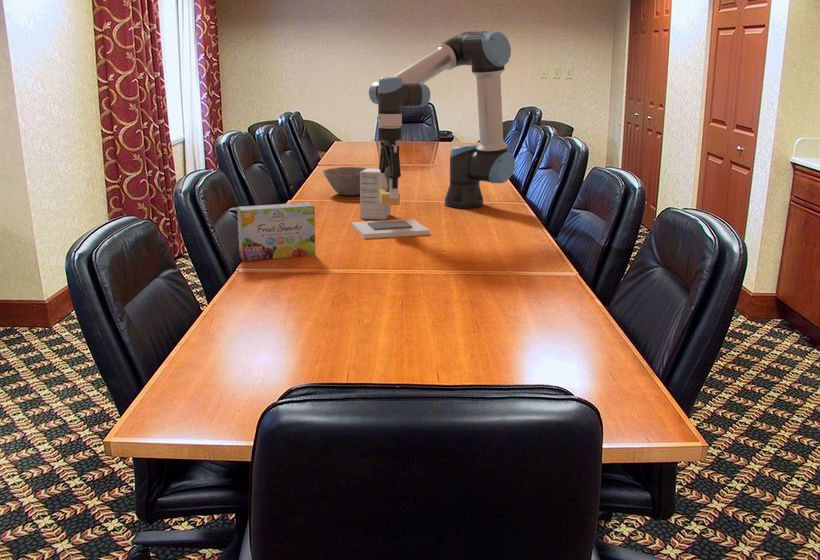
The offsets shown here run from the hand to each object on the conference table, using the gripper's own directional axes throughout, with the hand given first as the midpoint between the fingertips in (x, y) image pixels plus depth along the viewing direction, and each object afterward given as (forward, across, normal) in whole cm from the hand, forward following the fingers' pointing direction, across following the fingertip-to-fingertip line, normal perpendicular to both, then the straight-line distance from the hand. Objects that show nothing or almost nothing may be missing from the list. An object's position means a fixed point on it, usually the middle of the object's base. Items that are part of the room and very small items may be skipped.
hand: (389, 195), depth 247 cm
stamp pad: (+12, 0, 0) cm, 12 cm away
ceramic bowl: (+12, -69, +2) cm, 70 cm away
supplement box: (+12, -23, +1) cm, 26 cm away
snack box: (+13, +24, -40) cm, 48 cm away
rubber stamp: (+3, 0, 0) cm, 3 cm away
